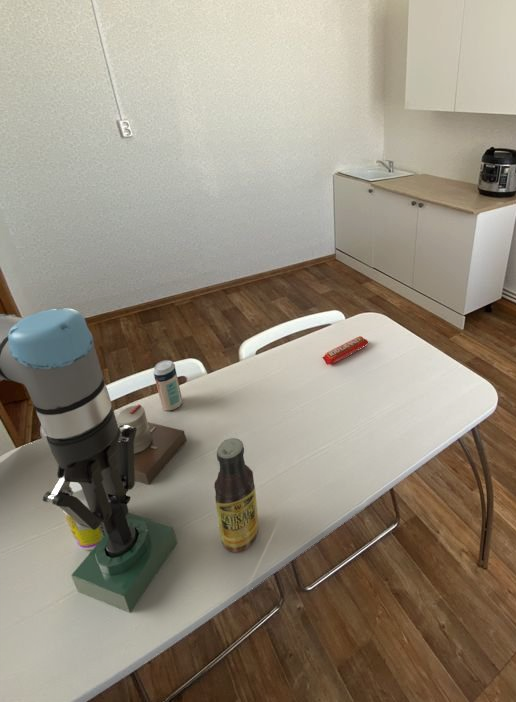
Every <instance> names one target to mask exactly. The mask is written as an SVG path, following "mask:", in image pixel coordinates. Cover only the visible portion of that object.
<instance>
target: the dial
mask: <svg viewBox="0 0 516 702" xmlns="http://www.w3.org/2000/svg"><path fill="white" fill-rule="evenodd" d="M116 420H117V424H118V427H119V426H120V425H122V424H124V425H128V426H132V427H136V429H137V431H136V435H135V439H134V453H138V452H141V451H143V450H144V449H146V448H147V447H148V446H149V445H150V444H151V442H152V436H151V433H150V429H149V425H148V422H149V421H148V418H147V414H146V409H145V407H144V406H142V405H141V404H139V403H138V404H135V405H130V406H128V407H126V408H124V409H122V410H121V411H120V412H119V413H118V414H117V416H116Z"/></svg>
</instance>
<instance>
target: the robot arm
mask: <svg viewBox="0 0 516 702" xmlns="http://www.w3.org/2000/svg"><path fill="white" fill-rule="evenodd" d="M4 380H5V381H10V382H12V383H13V382H14V383H19V384H22V385H24V386H25V388H26V390H27V393H28V395H29V397H30V399H31V402H32V405H33V408H34V410H35V412H36V416H37V417H38V420H39V423H40V425H41V427H42V431H43V432H44V434H45V436H46V441H47V444H48V446H49V449H50V452H51V454H52V456H53V458H54V460H55V461H56V463H57V465H58V467H57V468H58V469H57V474H56V475H57V478H58V481H57V482H56V485H55V486H54V488H53V490H48V491H46V492H45V493H44V495H43V497H42V501H43V502H44V503H48V504H50V505H53V506H56V507H59V508H60V509H61V510H62V511H63V510H64V511H65V512H66V513H67V514H68V515H69V516H70V517H71V518H73V519H74V520H75V521H76V522H77V523H78V524H79V525H81V526H84V527H87V528H90V529H93V530H95V529H97V528H98V527H99V529H100V532H102V533H105V534H108V536H109V539H110V540H111V541H114V542H117V543H120V544H123V545H124V544H125V543H126V541H127V540H128V539H129V537H130V536H131V532H130V529H129V526H128V523H127V520H126V517H125V516H126V515H127V514H128V513H129V507H128V504H129V503H130V501H131V496H129V495H127V493H128V491H130V490H132V489H133V488H134V487H135V483H136V481H135V470H134V439H135V435H136V431H137V429H136V427H132V426H128V425H124V424H122V425H120V426H119V427H118V423H117V420H116V419H117V416H116V414H115V411H114V408H113V406H112V400H111V396H110V394H109V391H108V388H107V385H106V381H105V380H104V375H103V371H102V367H101V364H100V360H99V356H98V354H97V350H96V347H95V343H94V336H93V333H92V332H91V330H90V328H89V327H88V325H87V322H86V319H85V316H84V315H83V314H82V313H81V312H80V311H79V310H76V309H73V308H67V307H64V308H60V309H57V308H51V309H46V310H42V311H39V312H36V313H33V314H31V315H28V316H26V317H22V316H18V315H15V314H5V313H0V382H2V381H4ZM125 477H126V478H125ZM70 482H78V483H79V484H80V485H81V487H82V490H83V492H84V495H85V498H86V501H87V503H88V506H89V509H90V510H89V509H88V508H87V507H86V506H85V505H84V504H83V503H82V502H81V501H80V500H79V499H78V498H76V497H74V496H72V495H73V493H74V492H73V491H72V488H71V487H70V486H69V484H70ZM108 500H110V502H109V501H108Z"/></svg>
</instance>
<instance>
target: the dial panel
mask: <svg viewBox="0 0 516 702" xmlns="http://www.w3.org/2000/svg"><path fill="white" fill-rule="evenodd" d="M148 425H149V429H150V433H151V436H152V442H151V444H150V445H149V446H148V447H147V448H146V449H144V450H143V451H141V452H138V453H134V470H135V482H137V483H141V484H145V485H147V486H150V484H152V482H154V480H155V479H156V478H157V477H158V475H159V474H160V473H161V472H162V471H163V469H164V468H166V466H167V465H168V463H170V461H171V460H172V459H173V458H174V456H175V455H176V454H177V453H178V452H179V451H180V450H181V448H182V447H183V446H184V445H185V444H186V443H187V436H186V431H185V430H183V429H179V428H174V427H170V426H167V425H163V424H157V423H153V422H150V421H148ZM125 478H126V477H125Z"/></svg>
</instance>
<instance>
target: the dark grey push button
mask: <svg viewBox="0 0 516 702" xmlns="http://www.w3.org/2000/svg"><path fill="white" fill-rule="evenodd" d="M128 526H129V529H130V532H131V536H130V537H129V539H128V540H127V541H126V543H125V544H124V545H123V544H120V543H117V542H114V541H111V540H110V539H109V538H108V540H107V542H106V549H107V552H108V555H109V557H111V558H115V557H119V556H122V555H124V554H125V553H126V552H128V551H129V550H131V548H132V547H133V546H134V544H135V543H136V542H137V539H138V537H137V534H136V531H135V528H134V527H133V526H130V525H128Z"/></svg>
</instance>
